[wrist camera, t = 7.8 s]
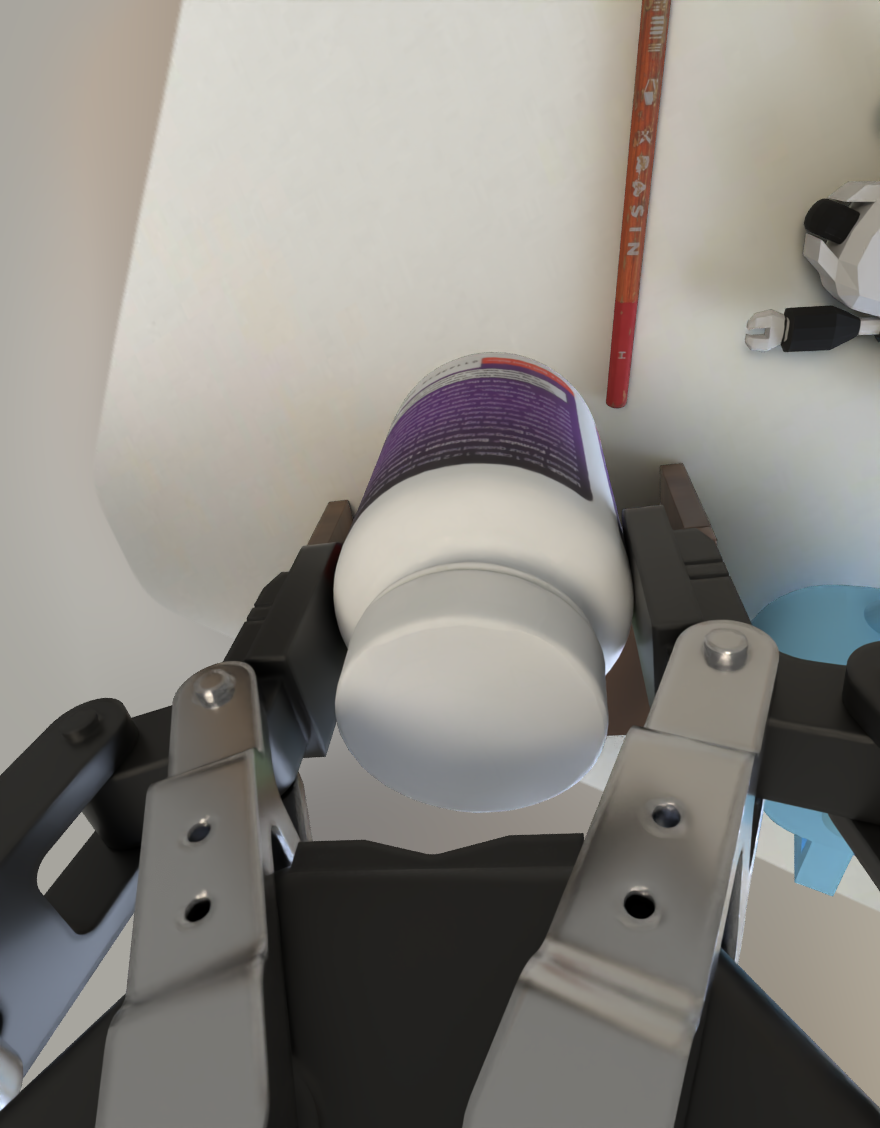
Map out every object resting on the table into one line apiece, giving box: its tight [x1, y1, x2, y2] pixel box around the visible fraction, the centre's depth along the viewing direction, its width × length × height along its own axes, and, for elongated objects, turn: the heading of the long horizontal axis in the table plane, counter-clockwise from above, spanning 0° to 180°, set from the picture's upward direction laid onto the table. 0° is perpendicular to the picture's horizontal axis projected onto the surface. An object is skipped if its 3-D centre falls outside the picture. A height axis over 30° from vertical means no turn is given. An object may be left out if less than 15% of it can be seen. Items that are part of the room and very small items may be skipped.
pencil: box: [606, 0, 671, 408], centre depth 30 cm, size 19×1×1 cm, turn 2°
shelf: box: [307, 463, 717, 736], centre depth 38 cm, size 20×12×8 cm, turn 100°
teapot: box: [751, 585, 880, 896], centre depth 34 cm, size 20×17×12 cm
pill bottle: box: [333, 352, 634, 813], centre depth 14 cm, size 5×5×10 cm
